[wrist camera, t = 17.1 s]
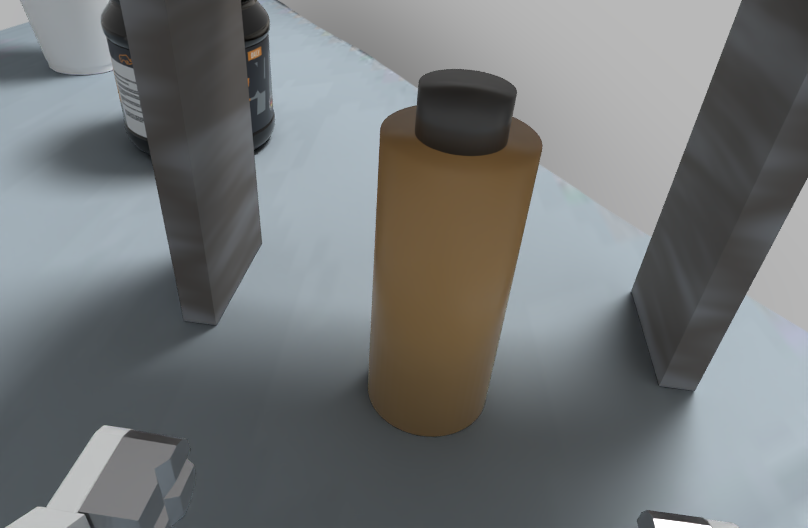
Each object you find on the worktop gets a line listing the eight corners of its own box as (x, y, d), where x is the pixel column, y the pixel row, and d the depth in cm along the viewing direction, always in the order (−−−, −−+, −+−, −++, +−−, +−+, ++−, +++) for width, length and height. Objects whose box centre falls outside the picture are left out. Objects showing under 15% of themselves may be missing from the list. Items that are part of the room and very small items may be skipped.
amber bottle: (343, 398, 26) (348, 87, 18) (407, 330, 29) (435, 47, 21) (450, 458, 24) (511, 138, 16) (504, 377, 27) (577, 84, 19)
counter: (108, 441, 23) (-131, -227, 11) (234, 239, 34) (181, -203, 22) (745, 536, 22) (1241, -108, 10) (660, 294, 33) (845, -145, 21)
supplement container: (111, 170, 40) (62, -28, 33) (143, 107, 48) (110, -62, 41) (274, 169, 41) (262, -19, 34) (278, 108, 50) (268, -54, 43)
